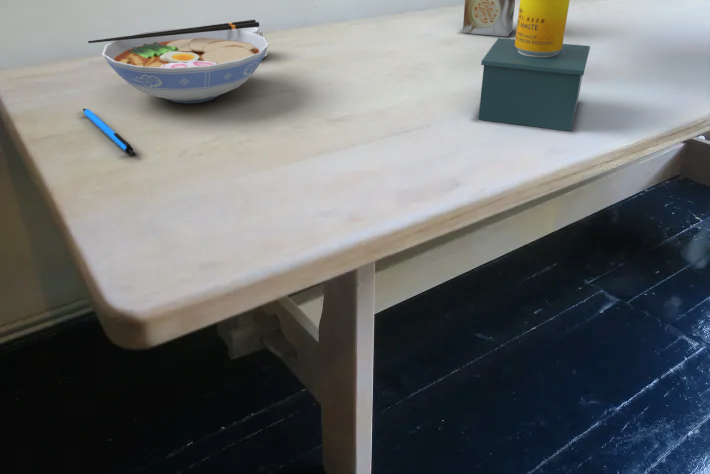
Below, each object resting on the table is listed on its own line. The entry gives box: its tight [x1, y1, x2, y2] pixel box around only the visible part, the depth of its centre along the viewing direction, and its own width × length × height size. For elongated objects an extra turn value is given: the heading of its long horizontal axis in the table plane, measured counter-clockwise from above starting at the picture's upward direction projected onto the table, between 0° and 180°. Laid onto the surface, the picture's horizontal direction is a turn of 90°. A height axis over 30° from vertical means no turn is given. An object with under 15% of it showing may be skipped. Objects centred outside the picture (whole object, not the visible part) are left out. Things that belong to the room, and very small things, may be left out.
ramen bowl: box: [87, 19, 269, 105], centre depth 95 cm, size 25×23×8 cm
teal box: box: [478, 37, 591, 132], centre depth 90 cm, size 13×13×8 cm
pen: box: [82, 108, 136, 156], centre depth 84 cm, size 1×19×1 cm, turn 36°
